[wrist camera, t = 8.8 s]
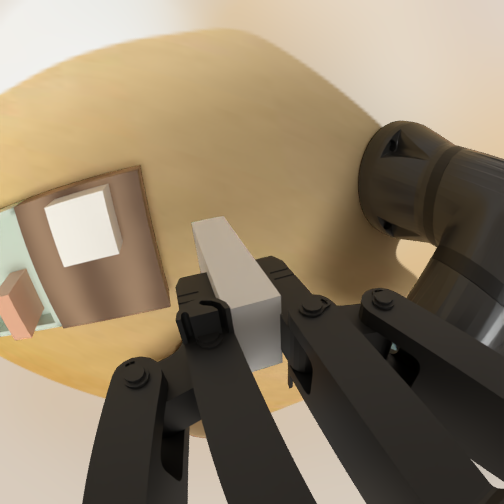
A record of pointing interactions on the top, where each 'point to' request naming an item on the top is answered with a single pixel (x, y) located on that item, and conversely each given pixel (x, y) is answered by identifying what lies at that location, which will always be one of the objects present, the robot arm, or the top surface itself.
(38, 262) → the board
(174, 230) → the top surface
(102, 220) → the tile white
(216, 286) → the robot arm
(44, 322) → the tray
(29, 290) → the tile terracotta
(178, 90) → the top surface
